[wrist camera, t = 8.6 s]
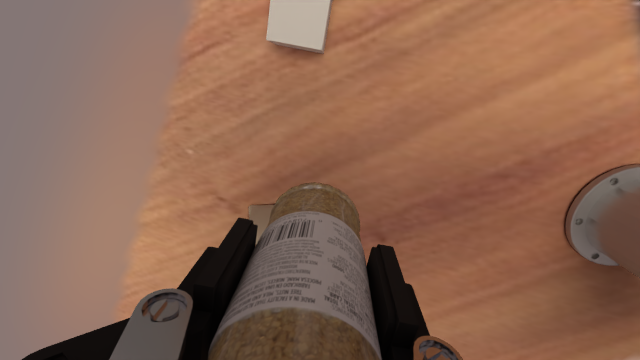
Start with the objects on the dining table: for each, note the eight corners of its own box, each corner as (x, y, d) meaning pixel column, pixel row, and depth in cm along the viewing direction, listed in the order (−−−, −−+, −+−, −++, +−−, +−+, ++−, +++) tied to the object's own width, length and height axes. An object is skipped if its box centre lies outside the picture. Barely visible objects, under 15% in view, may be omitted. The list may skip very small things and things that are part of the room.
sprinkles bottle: (280, 264, 16) (87, 934, 4) (262, 185, 15) (-167, 836, 2) (366, 255, 16) (490, 979, 3) (355, 172, 14) (509, 895, 2)
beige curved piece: (306, 231, 39) (302, 255, 33) (241, 233, 39) (228, 257, 34) (304, 202, 37) (299, 222, 32) (237, 204, 38) (222, 224, 33)
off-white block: (332, -1, 30) (332, -14, 25) (323, 53, 32) (322, 50, 27) (282, -10, 30) (273, -26, 25) (276, 44, 32) (266, 39, 27)
